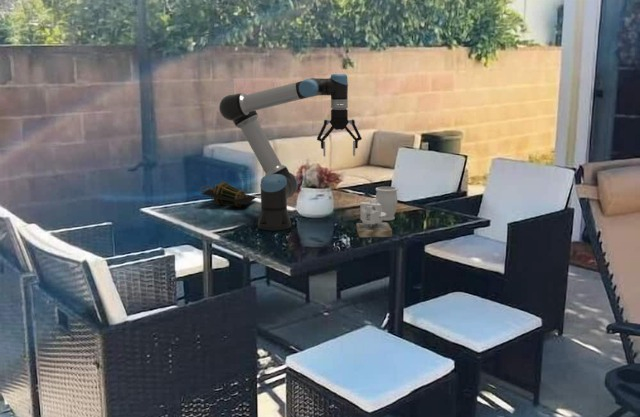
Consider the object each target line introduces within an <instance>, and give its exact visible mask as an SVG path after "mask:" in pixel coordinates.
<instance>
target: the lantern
mask: <svg viewBox="0 0 640 417" xmlns="http://www.w3.org/2000/svg"><path fill="white" fill-rule="evenodd" d="M203 188H208V189H204V190H202V189H203ZM199 191H200V192H201V195H204V196H208V197H210V198H213V200H214V202H215V203H214V204H215V205H219V206H223V205H225V206H233V207H234V206H235V207H239V208H242V205H247V204H249V203H250V202H252V201H253V200H256V198H258V196H255V195H250V194H246V191H244V190H240V189H238V188H236V187H235V186H233V185H232V184H231V185H230V184H229V183H228V182H225V181H224V180H222V179H221V182H220V183H218V184H216V183H214V186H213V188H212V185H203V186H201V187H200V188H199ZM221 204H222V205H221Z"/></svg>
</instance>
